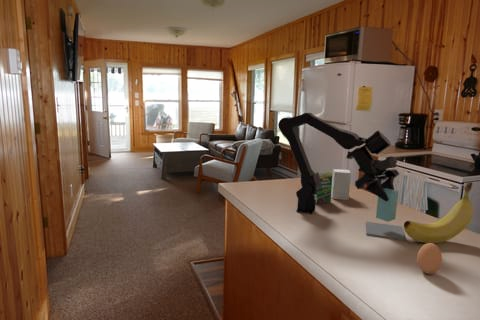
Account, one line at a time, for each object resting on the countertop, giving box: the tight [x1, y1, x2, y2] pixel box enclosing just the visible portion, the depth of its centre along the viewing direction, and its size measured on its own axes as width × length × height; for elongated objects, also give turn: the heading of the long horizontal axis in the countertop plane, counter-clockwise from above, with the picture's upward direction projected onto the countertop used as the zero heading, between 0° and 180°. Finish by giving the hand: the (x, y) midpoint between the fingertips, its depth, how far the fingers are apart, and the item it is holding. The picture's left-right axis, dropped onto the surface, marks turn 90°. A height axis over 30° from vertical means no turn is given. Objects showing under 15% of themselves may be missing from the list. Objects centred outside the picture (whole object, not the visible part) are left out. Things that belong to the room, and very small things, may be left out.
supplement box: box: [331, 168, 352, 201], centre depth 157 cm, size 7×7×13 cm
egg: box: [416, 243, 443, 275], centre depth 90 cm, size 6×6×8 cm
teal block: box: [375, 188, 400, 223], centre depth 117 cm, size 4×4×10 cm
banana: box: [403, 181, 474, 244], centre depth 109 cm, size 23×6×20 cm, turn 97°
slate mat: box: [365, 221, 407, 241], centre depth 119 cm, size 12×12×1 cm
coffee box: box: [313, 172, 333, 205], centre depth 148 cm, size 8×3×13 cm, turn 115°
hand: (391, 199), depth 116 cm, fingers closed on teal block, 4 cm apart
